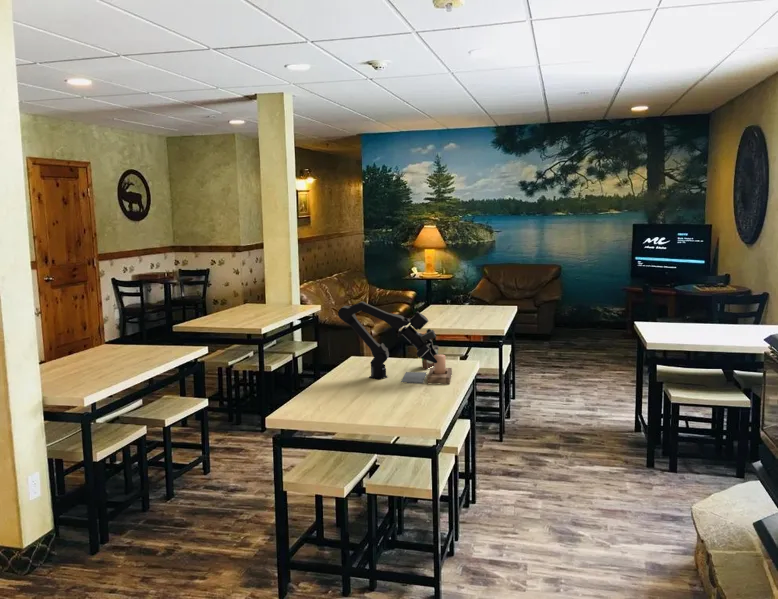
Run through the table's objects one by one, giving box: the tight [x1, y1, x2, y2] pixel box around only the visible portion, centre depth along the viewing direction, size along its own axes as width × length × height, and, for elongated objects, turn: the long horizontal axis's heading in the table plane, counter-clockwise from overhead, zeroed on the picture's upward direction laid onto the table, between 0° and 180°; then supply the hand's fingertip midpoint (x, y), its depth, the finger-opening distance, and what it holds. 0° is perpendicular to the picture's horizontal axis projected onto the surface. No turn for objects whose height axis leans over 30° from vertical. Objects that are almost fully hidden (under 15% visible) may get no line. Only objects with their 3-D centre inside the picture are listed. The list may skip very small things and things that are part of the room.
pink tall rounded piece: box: [433, 353, 447, 374], centre depth 306 cm, size 5×5×11 cm
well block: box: [427, 367, 453, 385], centre depth 306 cm, size 10×18×3 cm, turn 172°
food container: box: [421, 345, 439, 370], centre depth 329 cm, size 12×6×10 cm, turn 144°
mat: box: [401, 371, 427, 384], centre depth 308 cm, size 10×18×1 cm, turn 172°
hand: (437, 360), depth 305 cm, fingers open, 9 cm apart
